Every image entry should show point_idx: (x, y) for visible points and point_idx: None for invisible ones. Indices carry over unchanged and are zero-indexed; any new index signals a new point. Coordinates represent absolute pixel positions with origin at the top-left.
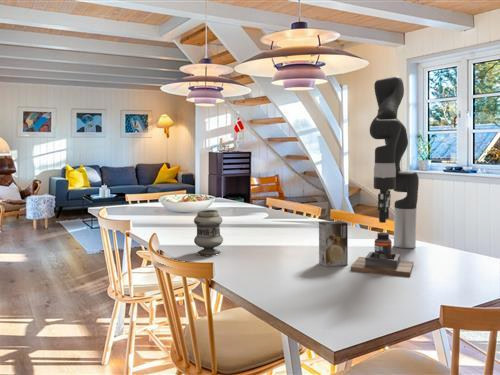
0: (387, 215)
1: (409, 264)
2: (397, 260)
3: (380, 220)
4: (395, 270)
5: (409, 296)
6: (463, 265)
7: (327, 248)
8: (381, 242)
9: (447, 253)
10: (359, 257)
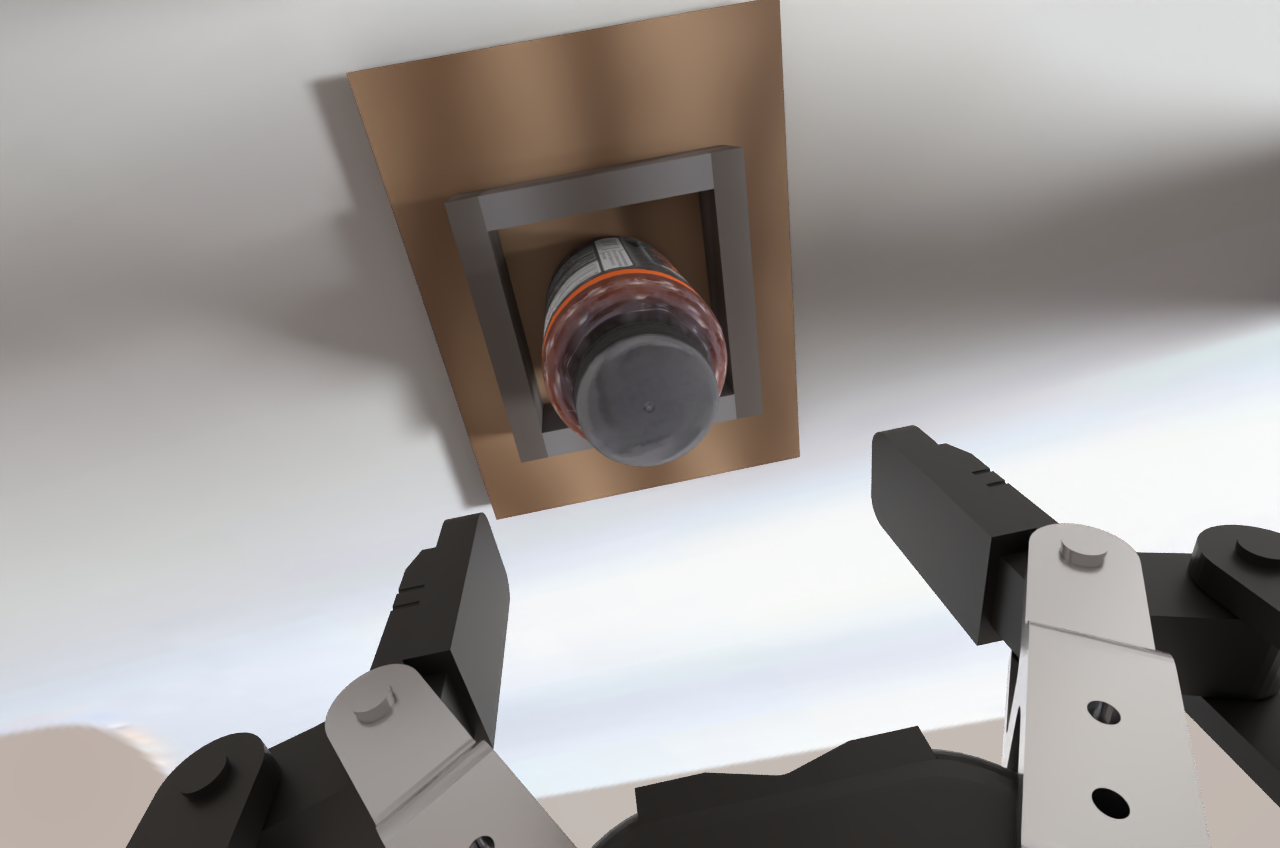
0: (901, 538)
1: (706, 458)
2: (565, 449)
3: (419, 564)
4: (482, 435)
5: (100, 608)
6: (906, 636)
7: None
8: (545, 382)
9: (1191, 514)
10: (756, 13)
